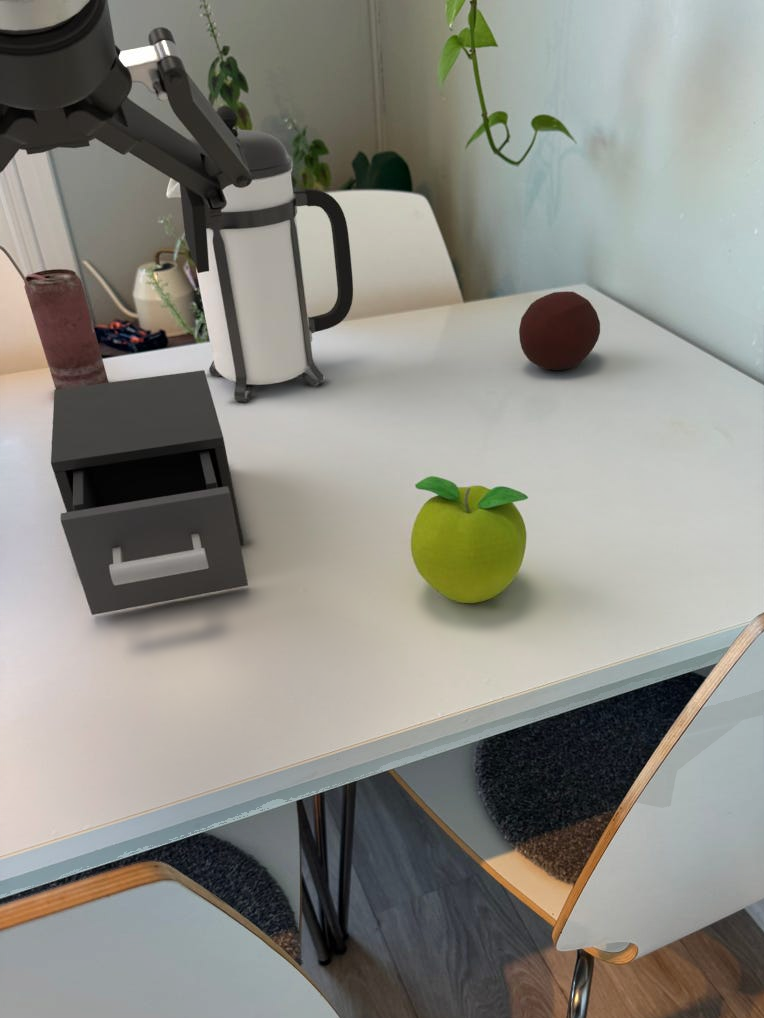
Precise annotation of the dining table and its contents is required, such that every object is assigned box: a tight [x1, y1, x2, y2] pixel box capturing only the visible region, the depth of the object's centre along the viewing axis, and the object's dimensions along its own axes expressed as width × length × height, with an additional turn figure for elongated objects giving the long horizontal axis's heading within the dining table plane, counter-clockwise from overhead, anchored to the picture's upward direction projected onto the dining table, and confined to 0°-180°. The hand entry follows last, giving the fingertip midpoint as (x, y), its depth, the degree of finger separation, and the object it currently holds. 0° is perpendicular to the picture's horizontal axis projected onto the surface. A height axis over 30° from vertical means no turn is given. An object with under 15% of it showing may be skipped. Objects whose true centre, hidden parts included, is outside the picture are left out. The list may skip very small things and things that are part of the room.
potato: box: [518, 291, 601, 371], centre depth 115 cm, size 9×12×9 cm
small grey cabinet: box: [50, 369, 245, 546], centre depth 86 cm, size 16×14×11 cm
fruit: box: [410, 475, 529, 604], centre depth 75 cm, size 9×9×10 cm
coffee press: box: [166, 105, 354, 403], centre depth 107 cm, size 17×16×30 cm
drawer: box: [60, 449, 249, 616], centre depth 77 cm, size 19×13×9 cm, turn 19°
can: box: [23, 268, 110, 390], centre depth 108 cm, size 6×6×14 cm
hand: (91, 273), depth 59 cm, fingers open, 13 cm apart
